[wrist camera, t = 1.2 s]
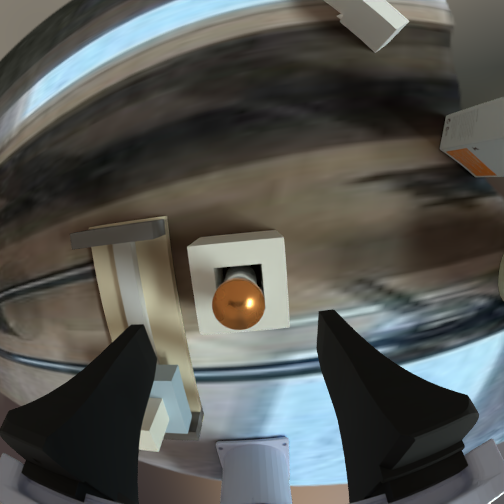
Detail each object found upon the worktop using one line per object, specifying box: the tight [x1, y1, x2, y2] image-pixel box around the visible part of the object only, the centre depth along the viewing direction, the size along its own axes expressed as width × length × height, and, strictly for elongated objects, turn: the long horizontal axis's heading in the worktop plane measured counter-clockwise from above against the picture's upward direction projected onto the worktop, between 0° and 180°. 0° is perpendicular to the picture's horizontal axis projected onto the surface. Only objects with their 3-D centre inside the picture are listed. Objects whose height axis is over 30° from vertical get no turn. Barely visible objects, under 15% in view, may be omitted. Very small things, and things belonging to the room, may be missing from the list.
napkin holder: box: [323, 0, 409, 53], centre depth 17 cm, size 15×11×6 cm
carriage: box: [139, 365, 192, 452], centre depth 19 cm, size 6×6×6 cm
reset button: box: [212, 265, 265, 330], centre depth 18 cm, size 3×3×6 cm
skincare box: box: [440, 97, 504, 177], centre depth 15 cm, size 6×4×12 cm
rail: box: [70, 216, 204, 441], centre depth 22 cm, size 20×7×4 cm, turn 5°
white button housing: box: [187, 230, 290, 335], centre depth 20 cm, size 6×6×5 cm
